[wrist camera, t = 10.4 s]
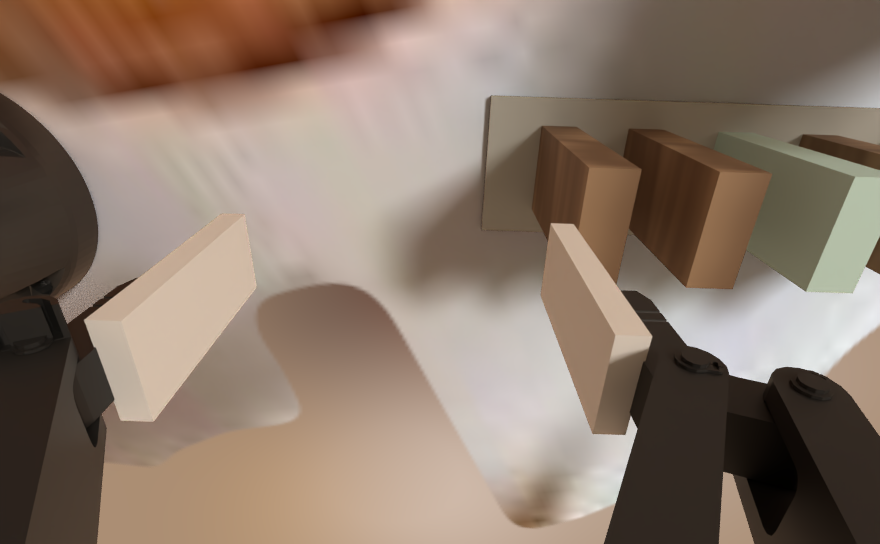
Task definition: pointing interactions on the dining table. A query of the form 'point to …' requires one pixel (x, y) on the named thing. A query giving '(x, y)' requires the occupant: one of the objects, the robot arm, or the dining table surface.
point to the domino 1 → (585, 191)
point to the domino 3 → (852, 152)
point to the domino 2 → (694, 206)
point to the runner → (609, 124)
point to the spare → (810, 212)
